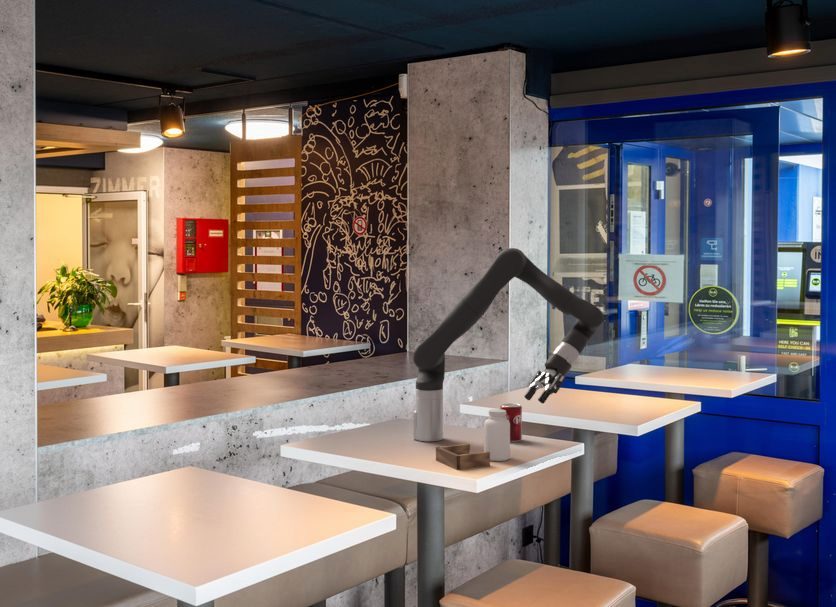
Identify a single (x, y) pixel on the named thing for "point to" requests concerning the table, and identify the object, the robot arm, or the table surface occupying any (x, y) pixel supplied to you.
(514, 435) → the soda can
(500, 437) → the pill bottle
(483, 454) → the holder
